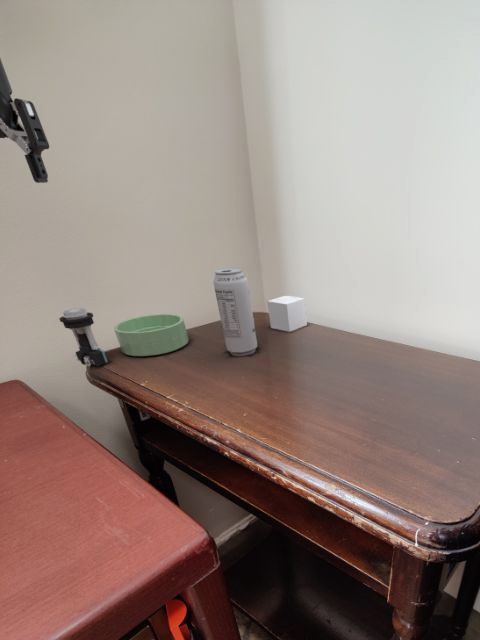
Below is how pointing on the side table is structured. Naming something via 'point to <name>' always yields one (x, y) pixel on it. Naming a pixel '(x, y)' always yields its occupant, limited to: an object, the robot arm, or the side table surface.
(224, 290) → the energy drink can
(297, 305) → the white cube
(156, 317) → the bowl
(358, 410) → the side table surface
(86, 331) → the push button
